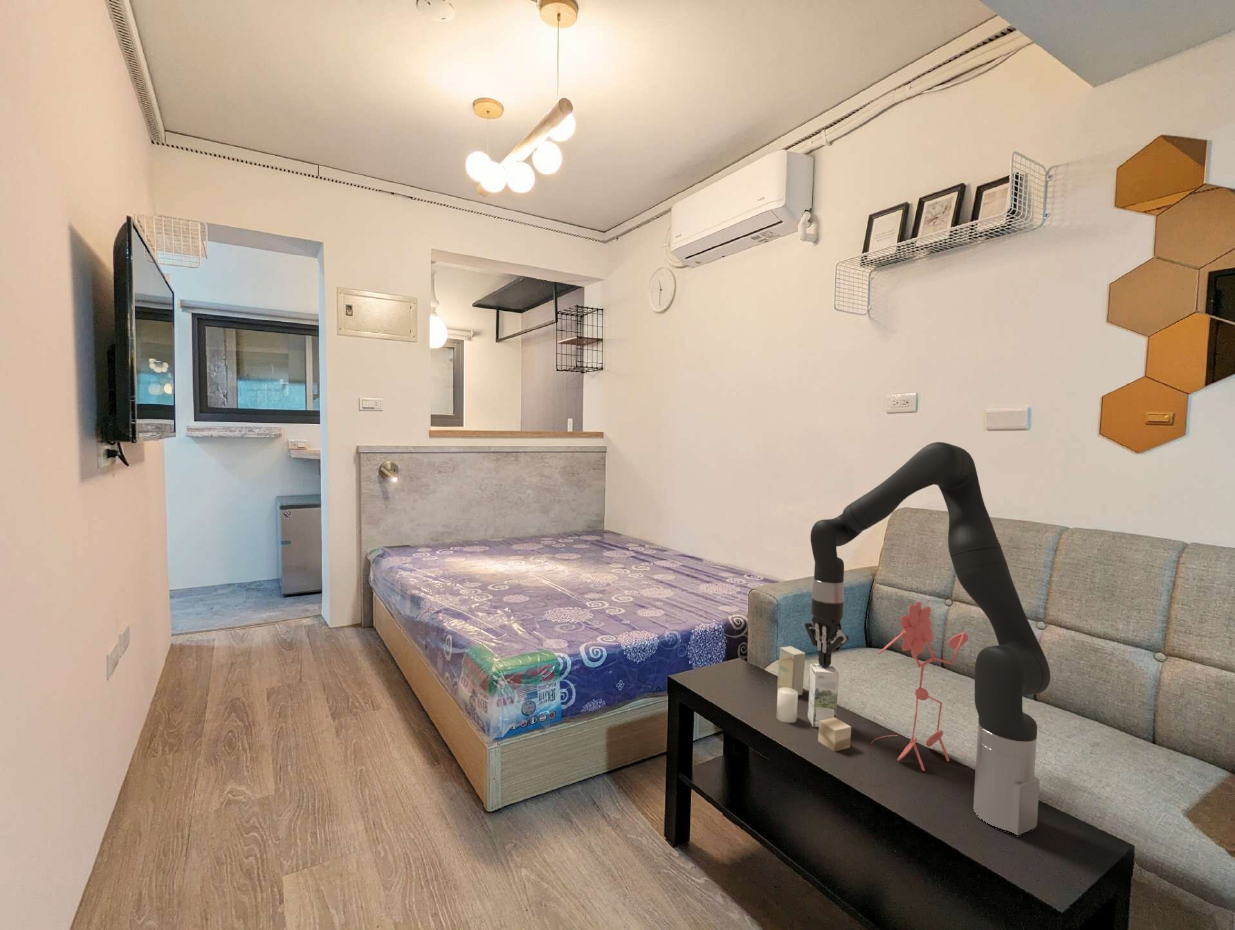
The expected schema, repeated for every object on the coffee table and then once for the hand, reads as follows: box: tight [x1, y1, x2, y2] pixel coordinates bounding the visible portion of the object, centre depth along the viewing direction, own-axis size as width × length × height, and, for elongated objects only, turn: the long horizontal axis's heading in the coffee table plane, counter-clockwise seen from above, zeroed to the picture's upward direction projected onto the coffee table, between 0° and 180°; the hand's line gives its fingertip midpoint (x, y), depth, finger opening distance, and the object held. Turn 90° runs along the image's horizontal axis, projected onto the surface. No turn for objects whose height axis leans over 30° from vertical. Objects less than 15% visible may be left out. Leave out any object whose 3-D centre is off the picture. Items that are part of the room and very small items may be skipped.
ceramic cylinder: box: [776, 687, 799, 724], centre depth 148 cm, size 5×5×7 cm
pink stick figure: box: [869, 601, 969, 772], centre depth 134 cm, size 15×26×35 cm, turn 119°
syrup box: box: [806, 663, 840, 729], centre depth 146 cm, size 6×6×14 cm
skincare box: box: [776, 645, 806, 696], centre depth 165 cm, size 6×4×12 cm
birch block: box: [817, 717, 852, 752], centre depth 136 cm, size 5×5×5 cm
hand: (824, 665), depth 146 cm, fingers closed
